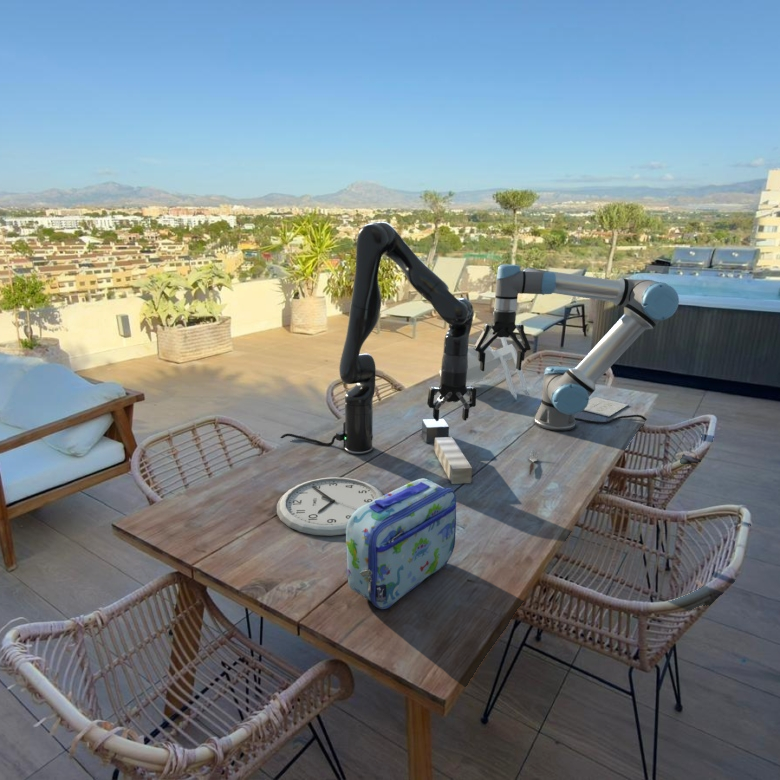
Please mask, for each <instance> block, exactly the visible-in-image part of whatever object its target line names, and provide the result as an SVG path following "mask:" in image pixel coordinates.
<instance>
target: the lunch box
mask: <svg viewBox="0 0 780 780" xmlns="http://www.w3.org/2000/svg"><path fill="white" fill-rule="evenodd" d="M456 498H457V496H456V493H455V491H454V489H452V488H450V487H443V486H441V485H439V484H438V483H436V482H433V481H432V480H430V479H427V478H423V477H422V478H418V479H416V480H413V481H411V482H409V483H406V484H405V485H402V486H400V487H398V488H396V489H394V490H392V491H390V492H388V493H386V494H384V496H382V497H380V498H378V499H376V500H374V501H372V502H370V503H368V504H366V505H364V506H362V507H360V508H358V509H357V510H356V511H355V512H354V513H353V514H352V515H351V517H350V519H349V521H348V524H347V528H346V534H345V547H346V549H345V550H346V572H347V573H346V575H347V584H348V587H349V589H350V590H351V591H353V592H355V593H357V594H358V595H361V596H363V597H364V598H365V599H367V600H368V601H369V602H371V604H372V605H373V606H374V607H376V608H377V609H380V610H386V609H389V608H391V607H393V605H395V603H397V602H398V601H399V600H400V599H402V598H403V597H404V596H405V595H408V593H410V592H411V591H412V590H413V589H415V588H416V587H417V586H419V585H420V584H421V583H423V581H424V580H425V579H427V578H428V577H430V576H431V575H433V574H435V573H437V572H438V571H439V570H441V569H442V568H443V567H444V566H446V564H447V563H448V562H449V560H450V559H451V556H452V555H453V552H454V548H455V544H456V531H457V530H456V529H457V499H456Z"/></svg>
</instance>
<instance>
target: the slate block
mask: <svg viewBox="0 0 780 780" xmlns="http://www.w3.org/2000/svg"><path fill="white" fill-rule="evenodd" d="M421 421H422V422H421V436H422V438H423V440H424V442H425V443H426V444H435V438H440V437H450V426H449V424H448V423H447V421H446V420H445V418H439V421H436V420H435V419H434V418H433V419H432V418H428V419H422V420H421Z"/></svg>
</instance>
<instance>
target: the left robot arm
mask: <svg viewBox="0 0 780 780" xmlns="http://www.w3.org/2000/svg"><path fill="white" fill-rule="evenodd" d="M355 248H356V249H355V250H356V251H355V252H356V253H355V273H354V279H353V286H352V294H351V299H350V306H349V314H348V315H349V316H348V322H347V328H346V335H345V339H344V344H343V349H342V352H341V356H340V360H339V367H338V368H339V371H338V372H339V378H340V379H341V381H342V382H343V383H344V384H346V385H354V384H355V385H354V386H353V387H352V388H350V390H348V391H346V393H345V395H344V421H343V422H342V423H343V424H342V429H343V430H341V431H338V432H336V433H335V435H333V436H332V439H331V441H330V442H323V441H321V440H318V439H313V438H309V437H306V436H303V435H298V434H294V433H284V434H282V435H281V436H280V439H285V438H286V437H291V438H295V439H301V440H303V441H307V442H310V443H316V444H319V445H321V446H332V445H334V443H335V440H337V441H339V442H342V441H343V442H342V443H343V449H344V450H345V452H346V453H348V454H351V455H366V454H369V453H371V452H372V451H373V448H374V446H373V434H374V433H373V429H374V428H373V425H374V424H373V422H374V420H373V417H374V415H373V414H374V409H373V408H374V402H373V401H374V396H375V393H376V390H375V389H376V375H377V374H376V373H377V367H376V362H375V359H374V358H373V356H372V355H371V354H370V353H360V352H361V349H362V347H363V345H364V344H365V341H366V340H367V339H368V338H369V336H370V335H371V333H372V332H373V331H374V329H375V328H376V326H377V324H378V322H379V320H380V313H381V309H382V308H381V307H382V293H381V289H380V285H379V284H380V283H379V271H380V265H381V260H382V257H383V256H386V257H387V258H388V259H390V260H392V261H393V262H394V263H395V264H396V265H397V266H398V267H399V268H400V269H401V271H402V273H403V274H404V276H405V277H406V279H407V281H408V282H409V284H410V286H412V288H413V289H414V290H415V291H416V292H417V293H418V294H419V295H420V296H421V297H422V298H424V299H425V300H426V301H427V302H428V303H429V304H430V305H431V306H432V308H433V309H434V311H435V312H436V313H437V314H438V316H439V317H440V318H441V319H442V320H443V321H444V322H445V323H446V324H448V329H447V332H446V333H445V336H444V338H443V351H442V357H441V366H440V368H441V369H440V370H441V376H440V382H439V386H438V387H435V386H432V385H431V386H429V387H428V394H427V403H426V404H427V405H428V407H429V408H430V409H433V410H432V417H433V419H435V420H436V421H439V419H440V408H441V407H442V406H443V405H444V404H445V403H446V402H447V403H451V402H454V403H458V402H459V401H460V402H461V404H462V405H463V406H462V413H461V414H462V415H461V419H462V420H463V421H467V419H468V418H469V414H470V409H471V408H475V407H476V405H477V388H476V387H475V386H474V385H470V386H467V383H466V378H467V368H468V346H469V343H470V342H469V339H470V334H471V330H472V326H473V320H474V307H473V304H472V302H471V301H470V300H469V299H467V298H463V297H461V298H460V297H459V298H457V297H455V296H454V295H453V293H451V291H450V288H449V286H448V284H447V283H446V282H445V281H444V280H442V279H441V278H440V277H439V276H438V274H436V273H435V272H434V271H433V270H432V269H430V268H429V267H428V266H427V265H426V264H425V263H424V262H423V261H422V260H421V259H420V258H419V257H418V256H417V255H416V253H415V252H414V251H413V250H412V249H411V247H410V246H409V245H408V244H407V243H406V242H405V240H404V239H403V238H402V236H401V235H400V234H399V233H398V231H397V230H396V229H395V228H394V227H393V226H392V225H391V224H390V223H388V222H385V221H376V222H373V223H372V222H371V223H368V224H366V225H364V226H363V227H361V228H360V230H359V232H358V233H357V238H356V246H355ZM438 393H439V394H440V395H439V396H437V399H436V400H435V396H436V395H437V394H438ZM466 394H469V401H468V402H467V400H466V399H465V397H464V396H465V395H466Z"/></svg>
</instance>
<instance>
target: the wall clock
mask: <svg viewBox="0 0 780 780" xmlns="http://www.w3.org/2000/svg"><path fill="white" fill-rule="evenodd" d="M384 495H385V494H384V493H383V492H382V491H381V490H380V489H379V488H377V487H376V486H374V485H372V484H371V483H369V482H365V481H362V480H359V479H355V478H349V477H338V476H337V477H335V476H333V477H332V476H331V477H322V478H317V479H312V480H307V481H305V482H302V483H299V484H297V485H295V486H293V487H292V488H290V489H288V490H287V491H286V492H285V493H284V494H283V495H281V496H280V498H279V499H278V502H277V503H276V515H277V517H278V518H279V520H280V521H281V522H282V523H283V524H285V525H286V526H287V527H288V528H290V529H293V530H295V531H297V532H299V533H303V534H308V535H312V536H327V537H328V536H329V537H331V536H332V537H333V536H342V535H346V528H347V524H348V521H349V519H350V517H351V515H352V514H353V513H354V512H355V511H356V510H357V509H358V508H360V507H362V506H364V505H366V504H368V503H370V502H372V501H374V500H376V499H378V498H380V497H382V496H384Z"/></svg>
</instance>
